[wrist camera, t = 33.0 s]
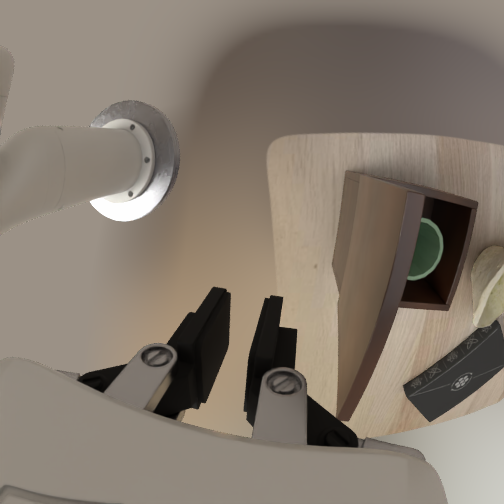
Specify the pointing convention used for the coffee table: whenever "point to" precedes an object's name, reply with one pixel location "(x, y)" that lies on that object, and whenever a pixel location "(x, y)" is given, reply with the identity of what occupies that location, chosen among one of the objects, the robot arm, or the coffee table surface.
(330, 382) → the coffee table surface
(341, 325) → the lid
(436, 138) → the coffee table surface
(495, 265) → the bowl
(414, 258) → the green cup
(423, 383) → the book
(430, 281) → the chest
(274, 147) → the coffee table surface
